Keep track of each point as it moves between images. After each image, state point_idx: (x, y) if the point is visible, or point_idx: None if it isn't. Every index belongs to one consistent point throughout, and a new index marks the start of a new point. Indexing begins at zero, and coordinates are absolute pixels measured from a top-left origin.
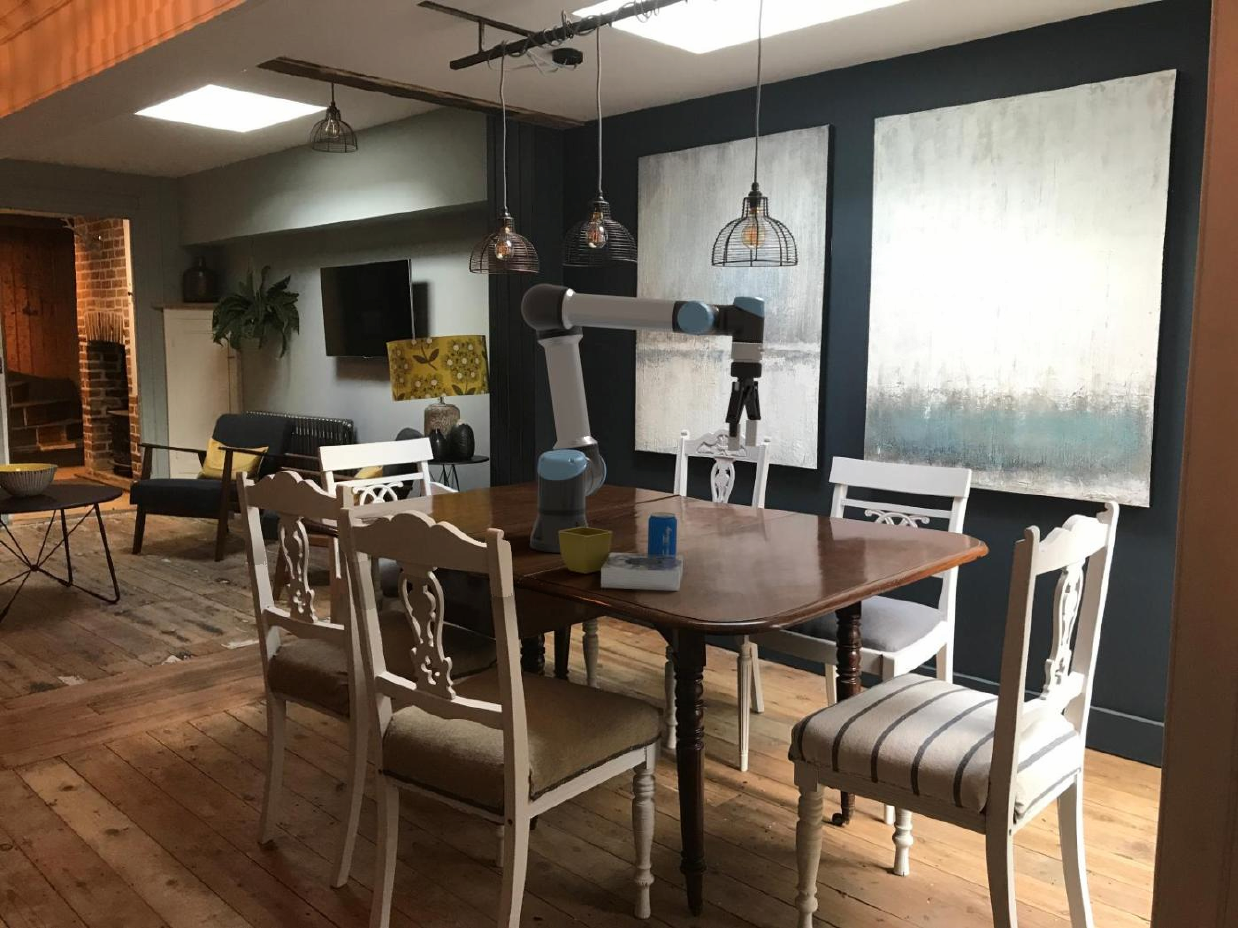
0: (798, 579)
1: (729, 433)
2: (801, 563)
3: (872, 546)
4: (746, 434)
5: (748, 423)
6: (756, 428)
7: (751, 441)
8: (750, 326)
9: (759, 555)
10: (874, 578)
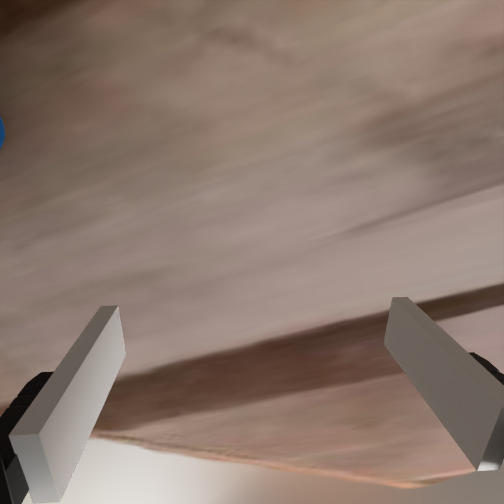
0: None
1: (58, 374)
2: (180, 336)
3: (371, 388)
4: (426, 338)
5: (475, 401)
6: (444, 419)
7: (398, 342)
8: None
9: (203, 261)
10: (142, 434)
